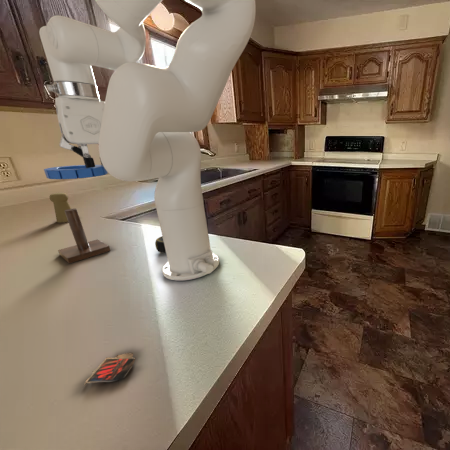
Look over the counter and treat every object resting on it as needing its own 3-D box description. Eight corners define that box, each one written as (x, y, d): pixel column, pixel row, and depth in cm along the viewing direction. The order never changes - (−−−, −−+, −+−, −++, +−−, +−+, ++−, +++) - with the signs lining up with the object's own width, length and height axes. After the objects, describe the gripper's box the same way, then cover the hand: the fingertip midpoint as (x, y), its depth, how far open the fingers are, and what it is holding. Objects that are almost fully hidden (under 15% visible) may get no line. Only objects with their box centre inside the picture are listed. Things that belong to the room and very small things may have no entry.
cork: (53, 221, 96) (43, 194, 92) (71, 217, 101) (62, 191, 98) (62, 223, 94) (51, 195, 90) (80, 218, 99) (71, 191, 95)
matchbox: (128, 379, 31) (127, 376, 31) (80, 391, 30) (79, 388, 30) (139, 351, 36) (138, 348, 35) (97, 360, 34) (96, 357, 34)
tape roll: (114, 174, 62) (112, 166, 61) (54, 181, 53) (51, 171, 52) (98, 171, 68) (96, 163, 67) (42, 176, 59) (39, 167, 59)
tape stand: (110, 250, 69) (97, 208, 65) (69, 263, 62) (51, 216, 58) (99, 243, 74) (86, 203, 70) (59, 254, 67) (42, 211, 63)
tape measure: (182, 253, 67) (180, 240, 65) (154, 257, 65) (151, 244, 63) (185, 243, 73) (183, 232, 71) (160, 247, 71) (157, 235, 69)
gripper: (33, 86, 49) (63, 178, 56) (123, 96, 61) (140, 170, 68) (26, 90, 53) (55, 175, 60) (112, 98, 66) (128, 168, 72)
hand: (100, 172), depth 64 cm, fingers closed on tape roll, 2 cm apart
